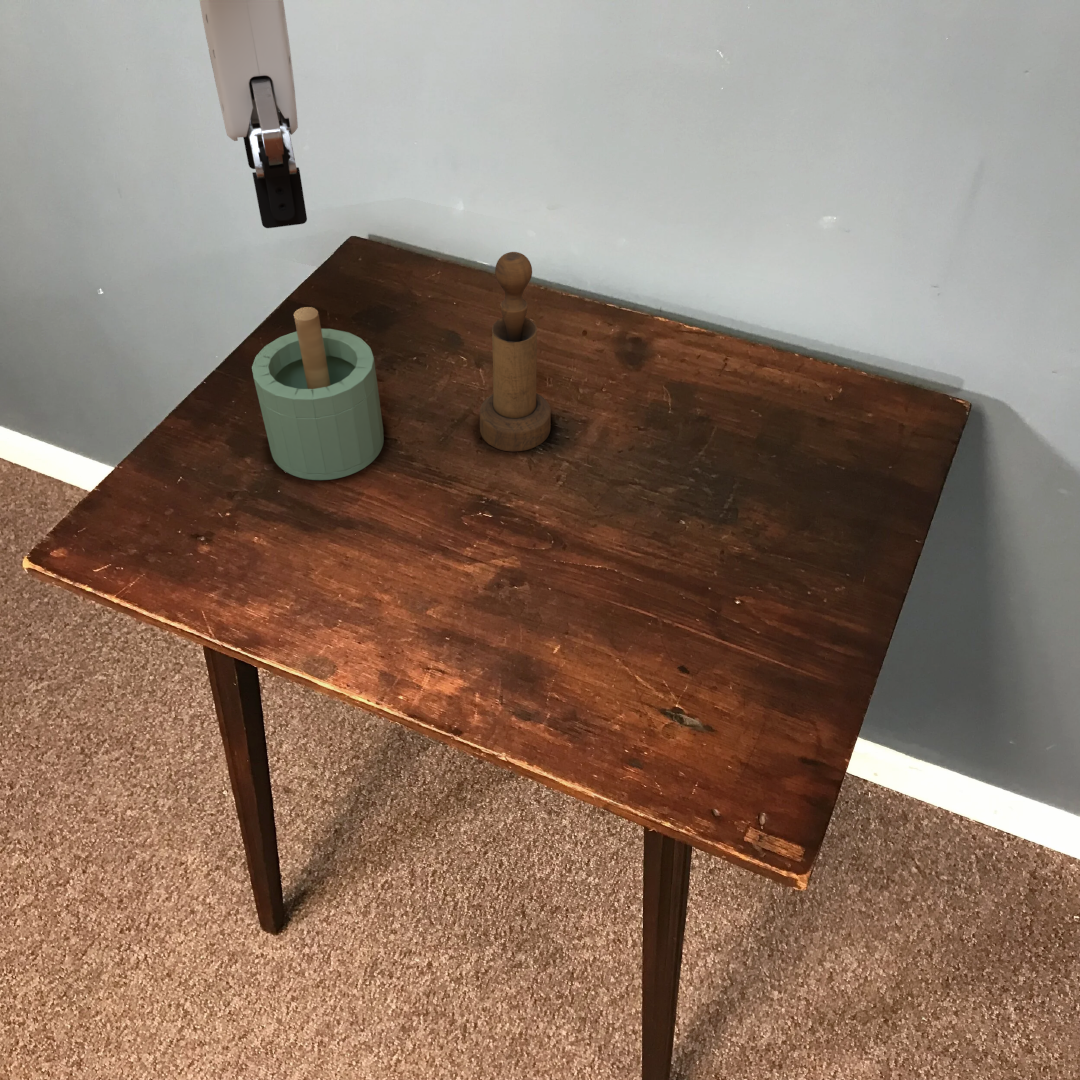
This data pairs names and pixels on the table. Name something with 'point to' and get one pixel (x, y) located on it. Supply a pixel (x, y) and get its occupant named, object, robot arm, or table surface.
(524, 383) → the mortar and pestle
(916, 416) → the table surface
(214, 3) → the robot arm
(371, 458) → the jar
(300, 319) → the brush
